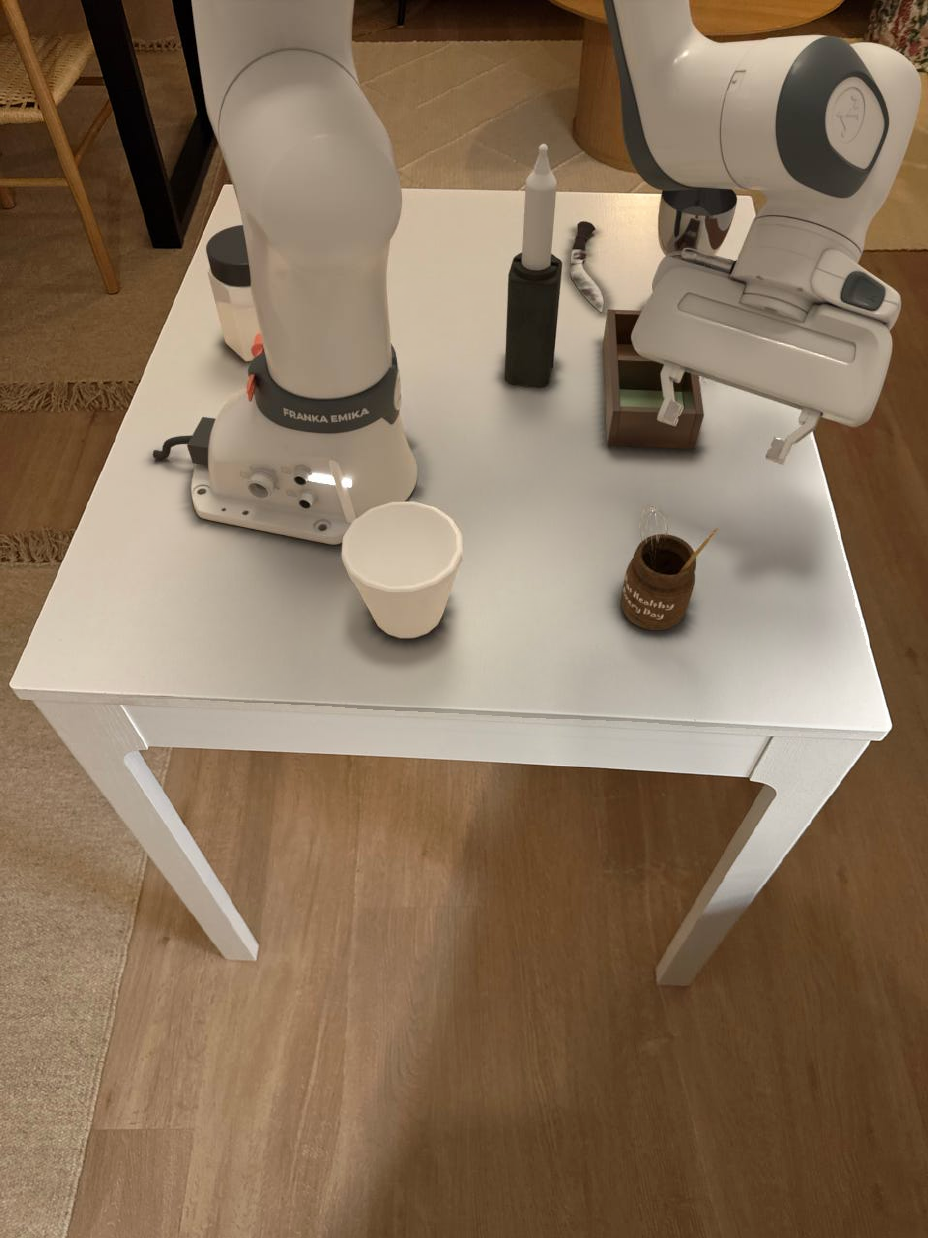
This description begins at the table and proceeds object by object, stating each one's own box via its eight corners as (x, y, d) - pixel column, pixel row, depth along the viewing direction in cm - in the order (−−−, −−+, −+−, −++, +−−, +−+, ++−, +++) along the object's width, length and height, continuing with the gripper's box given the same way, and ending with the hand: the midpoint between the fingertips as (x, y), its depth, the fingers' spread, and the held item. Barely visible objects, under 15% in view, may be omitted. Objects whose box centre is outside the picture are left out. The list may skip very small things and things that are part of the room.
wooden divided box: (607, 445, 94) (612, 410, 90) (602, 343, 104) (607, 308, 100) (695, 449, 93) (704, 414, 90) (681, 346, 104) (689, 311, 100)
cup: (367, 563, 84) (357, 493, 76) (472, 577, 83) (472, 507, 75) (340, 650, 78) (326, 582, 70) (453, 666, 77) (451, 599, 69)
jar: (315, 344, 104) (299, 247, 95) (254, 372, 101) (232, 275, 92) (274, 309, 108) (255, 213, 99) (214, 335, 105) (189, 239, 96)
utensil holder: (641, 571, 83) (664, 476, 74) (701, 605, 81) (732, 511, 71) (606, 610, 80) (624, 517, 71) (666, 646, 78) (694, 555, 68)
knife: (624, 304, 107) (582, 309, 107) (623, 314, 108) (582, 319, 108) (594, 218, 118) (556, 223, 118) (593, 228, 119) (556, 233, 119)
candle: (547, 388, 99) (567, 160, 79) (502, 383, 100) (511, 154, 80) (554, 360, 102) (575, 133, 82) (510, 355, 103) (520, 128, 83)
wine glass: (711, 339, 104) (743, 216, 92) (643, 339, 105) (666, 215, 93) (702, 300, 109) (731, 177, 97) (636, 299, 109) (657, 176, 97)
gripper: (662, 228, 72) (596, 394, 74) (923, 302, 65) (840, 481, 68) (673, 253, 78) (612, 407, 80) (913, 323, 71) (838, 487, 74)
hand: (718, 442), depth 74 cm, fingers open, 8 cm apart
